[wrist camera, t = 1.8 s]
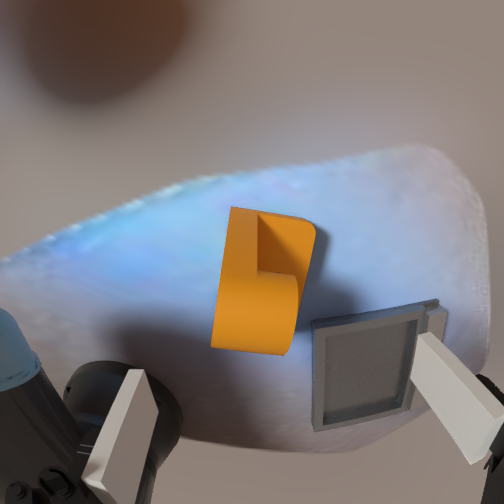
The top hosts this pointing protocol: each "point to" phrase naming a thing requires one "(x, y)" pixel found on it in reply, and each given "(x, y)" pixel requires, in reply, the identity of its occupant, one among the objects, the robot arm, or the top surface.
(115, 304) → the top surface
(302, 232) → the bracket
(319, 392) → the tray
